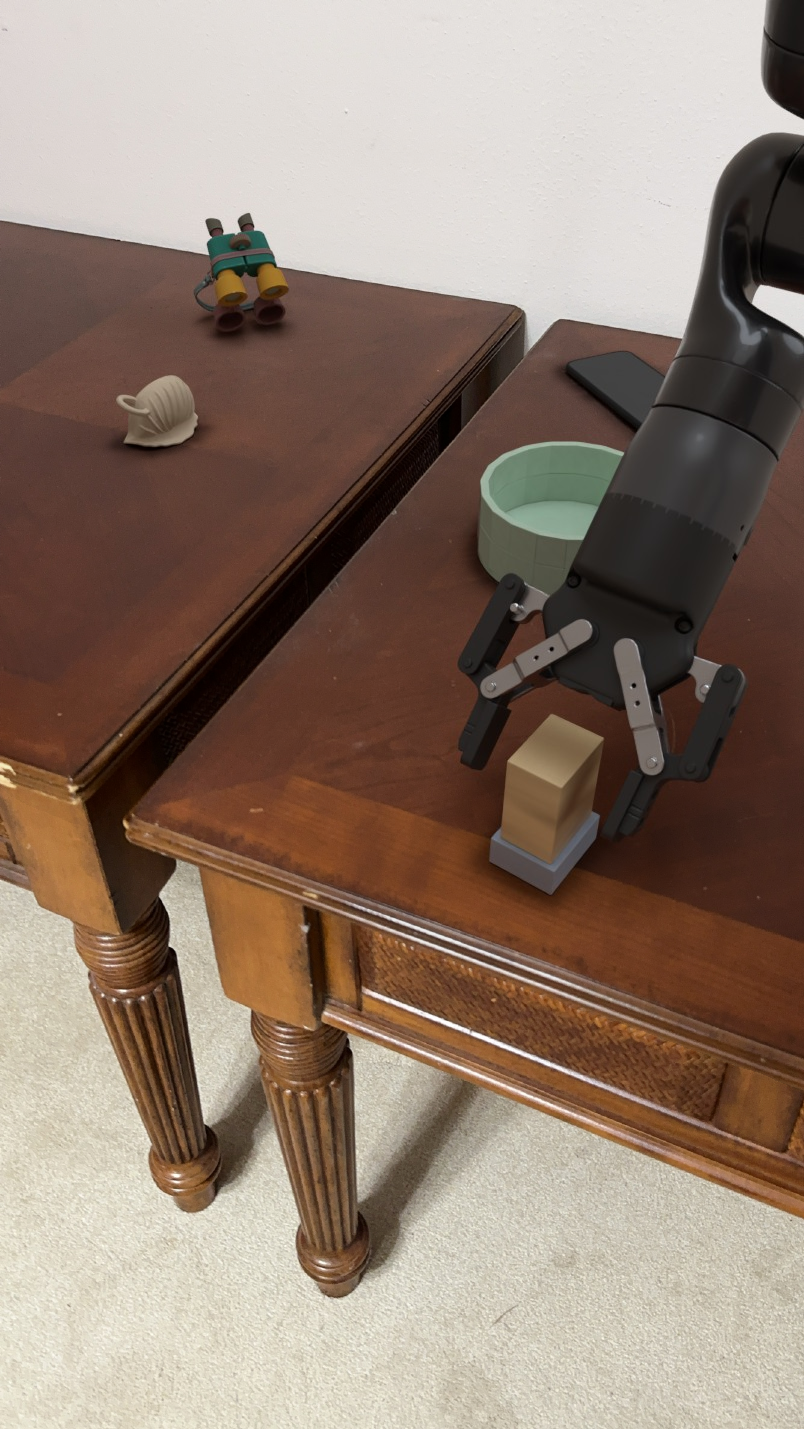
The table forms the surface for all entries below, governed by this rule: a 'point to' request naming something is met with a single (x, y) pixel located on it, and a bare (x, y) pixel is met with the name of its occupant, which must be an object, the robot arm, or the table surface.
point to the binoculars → (230, 265)
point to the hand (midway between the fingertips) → (538, 802)
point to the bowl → (541, 509)
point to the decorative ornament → (160, 413)
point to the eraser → (549, 804)
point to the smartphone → (619, 382)
